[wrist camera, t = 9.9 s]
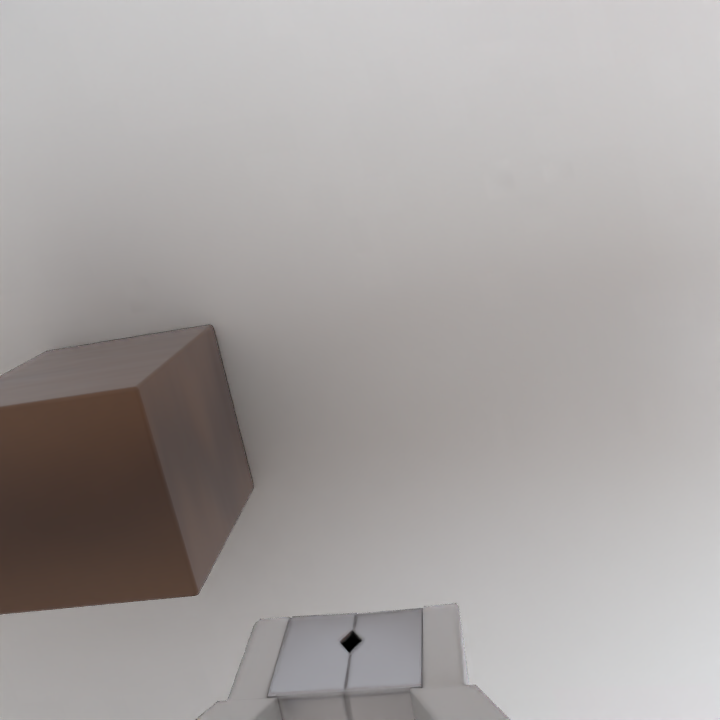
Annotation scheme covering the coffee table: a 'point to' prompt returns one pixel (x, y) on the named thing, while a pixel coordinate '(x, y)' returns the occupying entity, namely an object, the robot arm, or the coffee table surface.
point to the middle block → (117, 472)
